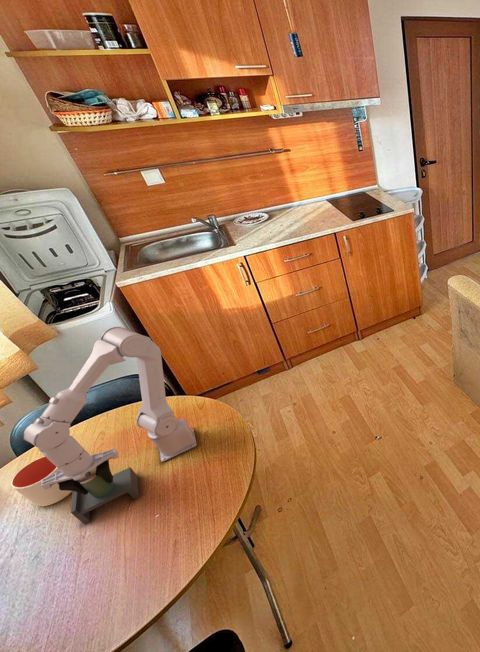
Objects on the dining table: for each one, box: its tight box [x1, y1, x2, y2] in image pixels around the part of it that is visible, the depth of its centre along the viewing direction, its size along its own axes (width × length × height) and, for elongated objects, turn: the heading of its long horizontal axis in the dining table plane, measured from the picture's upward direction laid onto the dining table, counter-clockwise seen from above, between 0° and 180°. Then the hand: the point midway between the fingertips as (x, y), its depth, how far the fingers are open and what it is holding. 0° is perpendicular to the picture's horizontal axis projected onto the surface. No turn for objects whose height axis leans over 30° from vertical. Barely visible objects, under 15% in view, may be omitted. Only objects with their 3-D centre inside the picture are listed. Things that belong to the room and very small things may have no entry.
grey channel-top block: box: [70, 466, 140, 525], centre depth 103 cm, size 12×8×6 cm, turn 128°
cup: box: [10, 455, 73, 507], centre depth 104 cm, size 10×10×10 cm
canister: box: [75, 467, 114, 498], centre depth 100 cm, size 5×5×8 cm
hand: (99, 485), depth 101 cm, fingers closed on canister, 5 cm apart
